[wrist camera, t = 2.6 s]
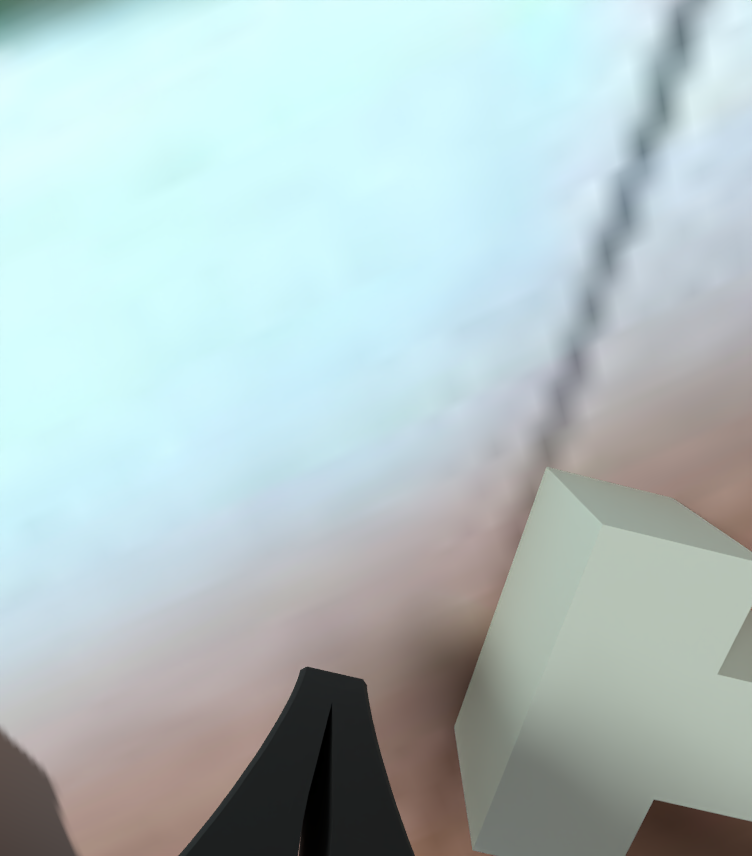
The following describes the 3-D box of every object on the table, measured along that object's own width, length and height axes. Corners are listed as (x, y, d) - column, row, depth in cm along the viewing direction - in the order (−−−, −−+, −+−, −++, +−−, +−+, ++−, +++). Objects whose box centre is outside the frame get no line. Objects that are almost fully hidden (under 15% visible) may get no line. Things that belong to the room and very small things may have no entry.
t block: (774, 799, 17) (884, 941, 14) (453, 726, 17) (472, 850, 13) (916, 557, 15) (1100, 646, 11) (545, 466, 15) (602, 524, 11)
